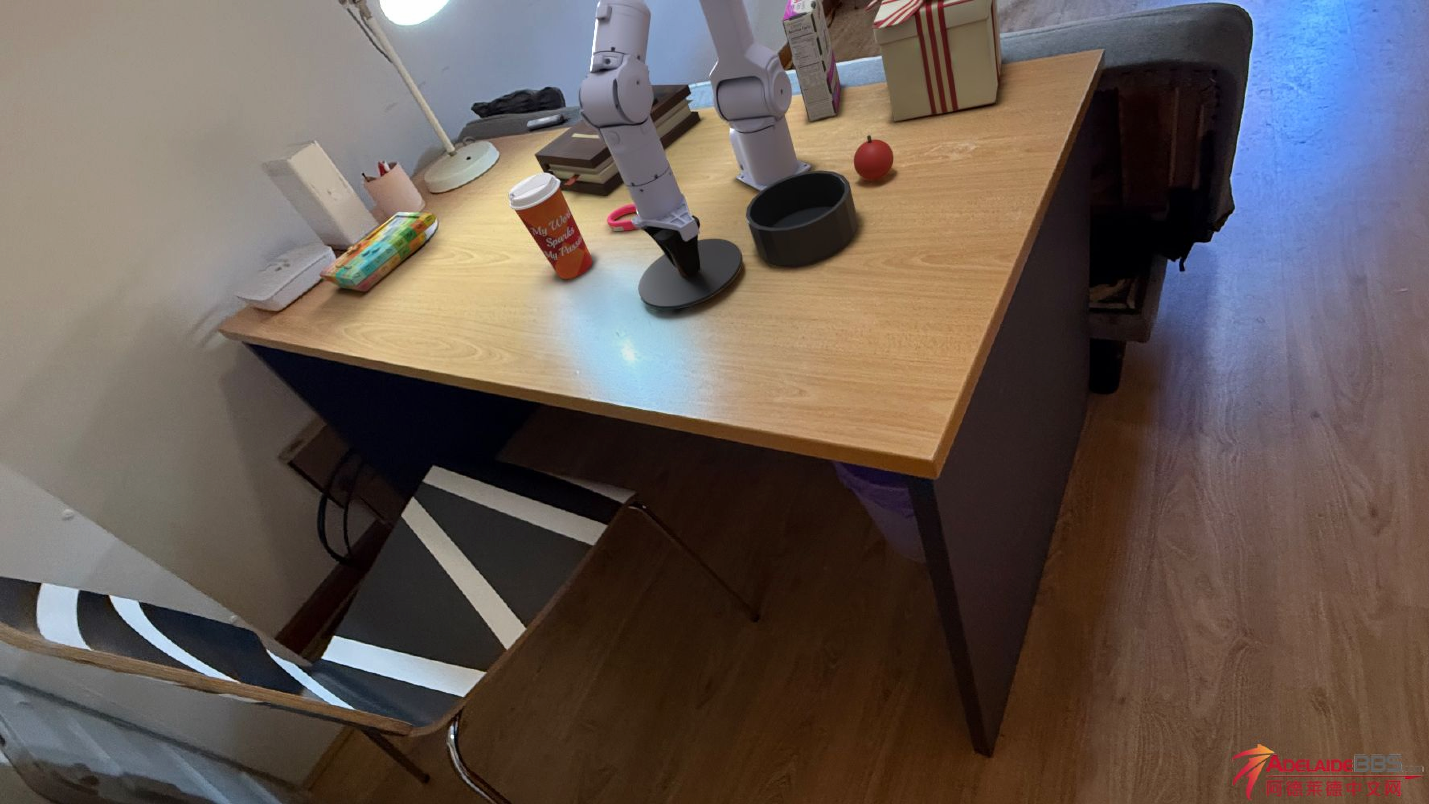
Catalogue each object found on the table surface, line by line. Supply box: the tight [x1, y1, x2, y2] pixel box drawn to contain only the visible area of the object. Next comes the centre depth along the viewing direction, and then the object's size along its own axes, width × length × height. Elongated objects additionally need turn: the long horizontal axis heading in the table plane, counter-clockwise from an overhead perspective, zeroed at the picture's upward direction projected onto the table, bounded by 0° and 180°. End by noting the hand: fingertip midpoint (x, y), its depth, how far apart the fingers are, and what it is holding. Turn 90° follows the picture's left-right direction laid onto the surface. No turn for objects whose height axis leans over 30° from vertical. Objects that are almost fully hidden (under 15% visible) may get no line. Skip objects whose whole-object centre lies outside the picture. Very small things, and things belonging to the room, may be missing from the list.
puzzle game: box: [318, 211, 437, 293], centre depth 133 cm, size 12×5×20 cm
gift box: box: [862, 0, 1003, 123], centre depth 102 cm, size 17×18×17 cm
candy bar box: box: [781, 0, 842, 123], centre depth 114 cm, size 11×5×16 cm, turn 168°
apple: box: [853, 134, 895, 181], centre depth 95 cm, size 5×5×6 cm
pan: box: [745, 169, 859, 269], centre depth 91 cm, size 13×13×6 cm
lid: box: [637, 238, 743, 310], centre depth 92 cm, size 14×14×5 cm
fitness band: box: [606, 203, 637, 232], centre depth 112 cm, size 8×6×2 cm
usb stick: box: [526, 113, 565, 131], centre depth 160 cm, size 10×3×2 cm, turn 70°
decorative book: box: [533, 84, 702, 197], centre depth 130 cm, size 19×8×30 cm
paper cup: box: [507, 172, 593, 280], centre depth 103 cm, size 8×8×14 cm
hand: (687, 267), depth 92 cm, fingers closed on lid, 2 cm apart
